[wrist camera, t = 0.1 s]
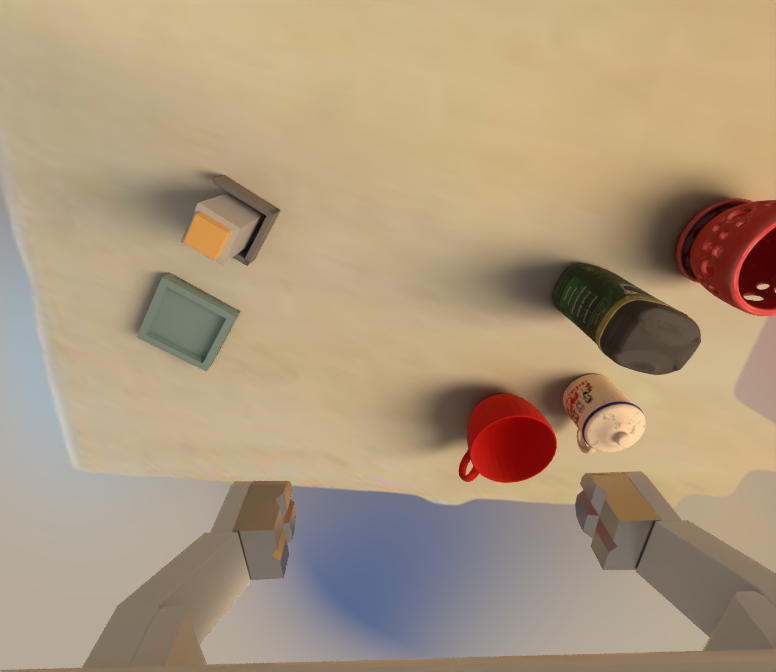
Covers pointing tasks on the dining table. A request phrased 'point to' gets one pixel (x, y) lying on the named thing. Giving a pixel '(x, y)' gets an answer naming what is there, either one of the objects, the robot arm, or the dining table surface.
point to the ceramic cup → (507, 440)
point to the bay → (258, 204)
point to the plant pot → (733, 253)
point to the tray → (187, 322)
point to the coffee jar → (626, 320)
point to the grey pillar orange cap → (222, 227)
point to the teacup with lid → (602, 415)
